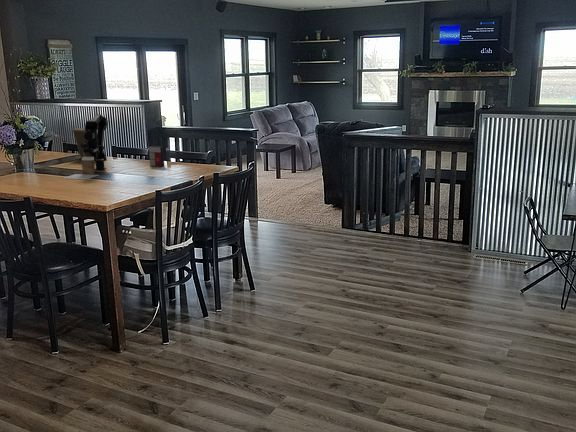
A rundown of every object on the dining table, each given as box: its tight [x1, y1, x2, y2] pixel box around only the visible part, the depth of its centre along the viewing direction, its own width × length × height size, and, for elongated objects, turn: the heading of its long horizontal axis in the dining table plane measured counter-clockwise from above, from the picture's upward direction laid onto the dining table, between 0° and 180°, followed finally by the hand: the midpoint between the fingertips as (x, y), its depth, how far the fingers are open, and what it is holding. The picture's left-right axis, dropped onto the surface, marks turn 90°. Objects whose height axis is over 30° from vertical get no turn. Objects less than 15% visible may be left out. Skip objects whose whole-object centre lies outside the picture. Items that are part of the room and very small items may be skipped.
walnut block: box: [80, 157, 96, 175], centre depth 401 cm, size 4×7×12 cm, turn 79°
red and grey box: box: [148, 145, 165, 168], centre depth 434 cm, size 11×4×15 cm, turn 65°
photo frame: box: [72, 127, 99, 160], centre depth 467 cm, size 15×22×25 cm
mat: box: [61, 173, 100, 181], centre depth 392 cm, size 17×18×1 cm
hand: (94, 161), depth 409 cm, fingers closed
